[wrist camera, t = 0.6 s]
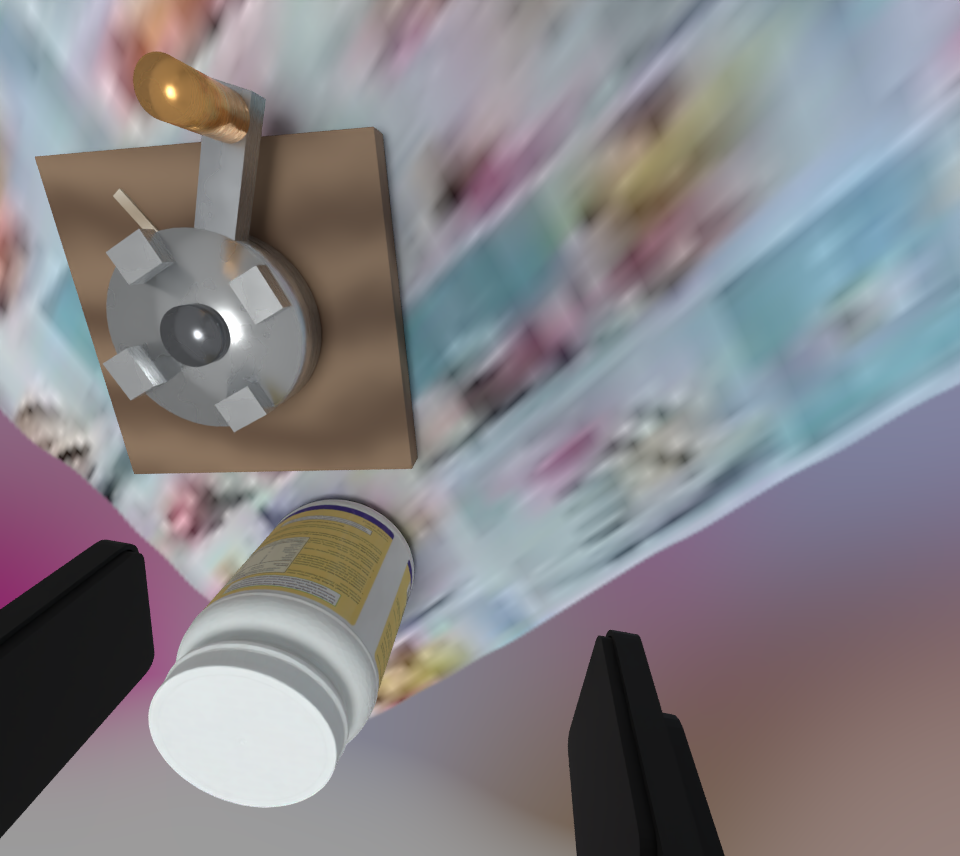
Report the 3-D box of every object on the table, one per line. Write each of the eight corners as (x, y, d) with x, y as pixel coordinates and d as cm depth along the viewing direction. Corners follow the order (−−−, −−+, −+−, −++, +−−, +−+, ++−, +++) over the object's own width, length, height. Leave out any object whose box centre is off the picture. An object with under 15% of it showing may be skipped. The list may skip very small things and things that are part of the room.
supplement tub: (248, 530, 42) (82, 698, 26) (364, 468, 39) (257, 615, 24) (331, 635, 45) (227, 842, 30) (445, 585, 42) (397, 785, 27)
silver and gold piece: (305, 430, 36) (243, 481, 28) (144, 380, 36) (36, 417, 28) (360, 133, 29) (299, 91, 21) (162, 70, 29) (27, 3, 21)
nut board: (62, 161, 34) (31, 156, 31) (382, 134, 31) (372, 125, 29) (152, 463, 41) (132, 475, 39) (417, 458, 39) (411, 469, 37)
